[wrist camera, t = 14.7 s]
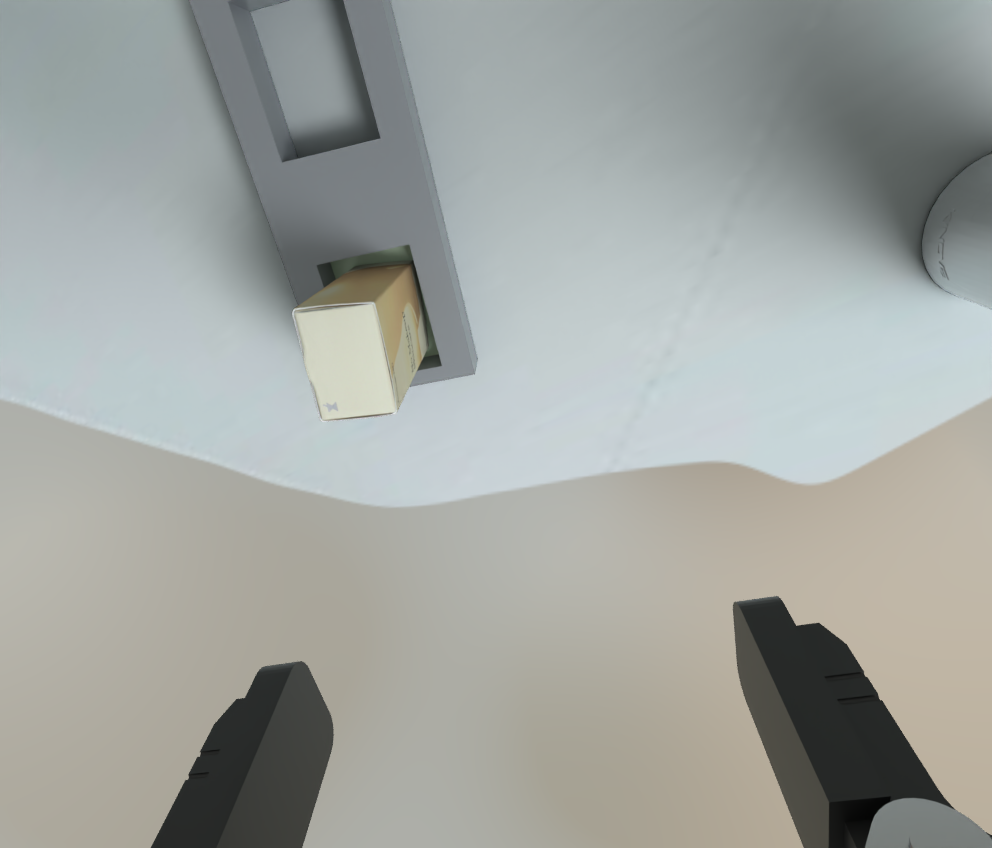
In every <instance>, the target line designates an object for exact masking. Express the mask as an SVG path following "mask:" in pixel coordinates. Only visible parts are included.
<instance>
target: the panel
mask: <svg viewBox="0 0 992 848" xmlns="http://www.w3.org/2000/svg"><path fill="white" fill-rule="evenodd" d="M285 1H289V0H189V2H190V5H191V8H192V11H193V13H194V16H195V19H196V22H197V25H198V27H199V30H200V33H201V36H202V38H203V41H204V44H205V47H206V50H207V52H208V55H209V58H210V61H211V64H212V66H213V69H214V72H215V75H216V78H217V80H218V83H219V86H220V89H221V91H222V94H223V97H224V100H225V103H226V105H227V108H228V111H229V114H230V117H231V119H232V122H233V125H234V128H235V131H236V133H237V136H238V139H239V142H240V144H241V147H242V150H243V153H244V156H245V158H246V161H247V164H248V167H249V170H250V172H251V175H252V178H253V181H254V184H255V186H256V189H257V192H258V195H259V197H260V200H261V203H262V206H263V209H264V211H265V214H266V217H267V220H268V223H269V225H270V228H271V231H272V234H273V237H274V239H275V242H276V245H277V248H278V250H279V253H280V256H281V259H282V262H283V264H284V267H285V270H286V273H287V276H288V278H289V281H290V284H291V287H292V290H293V292H294V295H295V298H296V301H297V303H298V306H299V305H300V304H301V303H303V302H304V301H306V300H307V299H309V298H310V297H312V296H313V295H314V294H316V293H317V292H319V291H320V290H322V289H323V288H324V287H326V286H327V285H329V284H330V283H332V282H333V281H335V280H336V279H337V278H339V277H340V276H342V275H343V274H344V273H346V272H347V271H349V270H350V269H352V268H353V267H355V266H358V265H366V264H374V263H383V262H394V261H406V260H414V264H415V268H416V271H417V275H418V280H419V285H420V290H421V295H422V300H423V306H424V312H425V319H426V325H427V333H428V341H429V347H428V349H427V351H426V353H425V355H424V357H423V359H422V361H421V363H420V365H419V367H418V370H417V372H416V374H415V376H414V378H413V380H412V382H411V384H410V386H409V387H411V386H416V385H422V384H427V383H432V382H437V381H442V380H447V379H453V378H458V377H463V376H468V375H473V374H475V371H476V366H477V360H478V358H477V354H476V350H475V346H474V342H473V338H472V334H471V329H470V325H469V321H468V317H467V313H466V309H465V305H464V301H463V297H462V292H461V288H460V284H459V280H458V276H457V272H456V268H455V264H454V260H453V255H452V251H451V247H450V243H449V239H448V235H447V231H446V227H445V223H444V219H443V214H442V210H441V206H440V202H439V198H438V194H437V190H436V186H435V182H434V177H433V173H432V169H431V165H430V161H429V157H428V153H427V149H426V145H425V141H424V136H423V132H422V128H421V124H420V120H419V116H418V112H417V108H416V104H415V99H414V95H413V91H412V87H411V83H410V79H409V75H408V71H407V67H406V63H405V58H404V54H403V50H402V46H401V42H400V38H399V34H398V30H397V26H396V21H395V17H394V13H393V9H392V5H391V1H390V0H343V1H344V5H345V9H346V13H347V16H348V20H349V24H350V27H351V31H352V35H353V38H354V42H355V46H356V50H357V53H358V57H359V61H360V64H361V68H362V72H363V75H364V79H365V83H366V87H367V90H368V94H369V98H370V101H371V105H372V109H373V112H374V116H375V120H376V123H377V127H378V131H379V135H380V139H375V140H371V141H367V142H363V143H359V144H355V145H351V146H347V147H343V148H339V149H335V150H331V151H327V152H323V153H319V154H315V155H311V156H307V157H303V158H298V157H297V154H296V151H295V148H294V145H293V142H292V139H291V136H290V133H289V130H288V126H287V123H286V120H285V117H284V114H283V111H282V108H281V105H280V102H279V99H278V96H277V93H276V90H275V87H274V84H273V80H272V77H271V74H270V71H269V68H268V65H267V62H266V59H265V56H264V53H263V50H262V47H261V44H260V41H259V37H258V34H257V31H256V28H255V25H254V22H253V19H252V16H251V13H250V11H253V10H257V9H260V8H264V7H267V6H271V5H274V4H278V3H282V2H285Z"/></svg>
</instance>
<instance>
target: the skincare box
mask: <svg viewBox="0 0 992 848" xmlns="http://www.w3.org/2000/svg"><path fill="white" fill-rule="evenodd" d="M292 316H293V319H294V323H295V328H296V332H297V335H298V339H299V343H300V347H301V351H302V355H303V359H304V364H305V368H306V371H307V374H308V378H309V381H310V385H311V389H312V393H313V396H314V400H315V404H316V408H317V411H318V415H319V419H320V421H321V422H329V421H341V420H353V419H364V418H373V417H381V416H387V415H394V414H396V413H397V411H398V409H399V407H400V405H401V403H402V401H403V398H404V396H405V394H406V392H407V390H408V388H409V386H410V384H411V382H412V380H413V378H414V376H415V374H416V372H417V370H418V367H419V365H420V363H421V361H422V359H423V357H424V355H425V353H426V351H427V349H428V347H429V341H428V333H427V325H426V319H425V312H424V306H423V300H422V295H421V290H420V285H419V280H418V275H417V271H416V268H415V264H414V260H406V261H394V262H383V263H374V264H366V265H358V266H355V267H353V268H352V269H350V270H349V271H347V272H346V273H344V274H343V275H342V276H340V277H339V278H337V279H336V280H335V281H333V282H332V283H330V284H329V285H327V286H326V287H324V288H323V289H322V290H320V291H319V292H317V293H316V294H314V295H313V296H312V297H310V298H309V299H307V300H306V301H304V302H303V303H301V304H300V305H299V306H297V307H296V308H294V309H293V311H292Z"/></svg>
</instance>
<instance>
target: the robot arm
mask: <svg viewBox="0 0 992 848" xmlns="http://www.w3.org/2000/svg"><path fill="white" fill-rule="evenodd" d="M922 253H923V259H924V263H925V266H926V269H927V271H928V273H929V274H930V276H931V278H932V279H933V281H934V282H935V283H936V284H938V285H939V286H940V287H941V288H942V289H943V290H945V291H947V292H949V293H951V294H953V295H955V296H958V297H960V298H963V299H966V300H968V301H971V302H973V303H976V304H979V305H981V306H984V307H986V308H989V309H991V310H992V153H991V154H989V155H986V156H984V157H982V158H981V159H979V160H978V161H976V162H974V163H973V164H971V165H969V166H968V167H967V168H965V169H964V170H963V171H962V172H961V173H960V174H959V175H957V176H956V177H955V178H954V179H953V180H952V181H951V182H950V183H949V185H948V186H947V187H946V188H945V189H944V191H943V192H942V193H941V194H940V196H939V197H938V199H937V201H936V202H935V204H934V206H933V207H932V209H931V211H930V214H929V216H928V219H927V222H926V224H925V228H924V233H923V239H922ZM733 615H734V629H735V643H736V655H737V666H738V673H739V678H740V682H741V686H742V690H743V693H744V696H745V699H746V702H747V705H748V707H749V710H750V712H751V715H752V717H753V720H754V723H755V725H756V727H757V730H758V733H759V735H760V738H761V740H762V743H763V745H764V748H765V750H766V753H767V756H768V758H769V760H770V763H771V766H772V768H773V771H774V773H775V776H776V778H777V781H778V783H779V786H780V788H781V791H782V794H783V796H784V799H785V801H786V804H787V806H788V809H789V811H790V814H791V816H792V819H793V821H794V824H795V827H796V829H797V832H798V834H799V837H800V839H801V841H802V844H803V847H804V848H992V835H990V834H988V833H986V832H985V831H984V830H983V829H982V828H980V827H979V826H978V825H977V824H976V823H974V822H973V821H972V820H971V819H969V818H968V817H966V816H965V815H963V814H961V813H960V812H958V811H956V810H955V809H954V808H953V807H952V806H951V805H950V804H949V803H948V801H947V800H946V799H945V798H944V797H943V795H942V794H941V793H940V791H939V790H938V788H937V787H936V785H935V784H934V782H933V781H932V779H931V777H930V776H929V774H928V772H927V771H926V769H925V768H924V766H923V765H922V763H921V762H920V760H919V758H918V757H917V755H916V754H915V752H914V750H913V749H912V747H911V746H910V744H909V742H908V741H907V739H906V738H905V736H904V735H903V733H902V731H901V730H900V728H899V727H898V725H897V723H896V722H895V720H894V719H893V717H892V715H891V714H890V712H889V711H888V709H887V708H886V706H885V705H884V703H883V701H882V700H880V699H879V697H878V693H877V692H876V690H875V689H874V687H873V685H872V684H871V682H870V681H869V679H868V678H867V677H865V675H864V671H863V670H862V668H861V667H860V665H859V663H858V662H857V660H856V659H855V657H854V655H853V654H852V652H851V651H850V649H849V647H848V646H847V644H845V643H844V642H843V641H842V640H840V639H839V638H838V637H836V636H835V635H834V634H832V633H831V632H830V631H829V630H827V629H826V628H825V627H824V626H822V625H821V624H820V623H815V624H806V625H799V626H796V625H795V623H794V621H793V619H792V617H791V616H790V614H789V612H788V610H787V608H786V607H785V605H784V603H783V601H782V600H781V599H780V598H779V597H778V596H775V597H767V598H760V599H753V600H746V601H739V602H734V604H733ZM332 745H333V723H332V718H331V715H330V713H329V710H328V708H327V706H326V704H325V702H324V700H323V697H322V695H321V693H320V691H319V689H318V687H317V685H316V683H315V680H314V678H313V676H312V674H311V672H310V670H309V668H308V666H307V665H306V664H305V663H304V662H302V661H300V662H293V663H286V664H279V665H272V666H265V667H262V668H261V669H260V670H259V671H258V673H257V675H256V676H255V678H254V681H253V683H252V685H251V687H250V689H249V691H248V693H247V695H246V697H245V698H242V699H236V700H235V702H234V703H233V704H232V705H231V706H230V707H229V708H228V710H226V712H225V713H224V714H223V715H222V716H221V717H220V718H219V719H218V721H217V722H216V723H215V724H214V726H213V728H212V730H211V732H210V734H209V736H208V737H207V740H206V741H205V743H204V745H203V747H202V749H201V751H200V752H201V755H200V757H197V759H196V761H195V763H194V765H193V767H192V769H191V771H190V772H189V779H188V780H186V781H185V782H184V784H183V786H182V788H181V790H180V792H179V794H178V796H177V798H176V800H175V802H174V804H173V806H172V808H171V810H170V812H169V813H168V816H167V817H166V819H165V821H164V823H163V825H162V827H161V829H160V831H159V833H158V835H157V837H156V839H155V841H154V843H153V845H152V847H151V848H302V846H303V843H304V840H305V836H306V833H307V830H308V827H309V823H310V820H311V817H312V813H313V810H314V807H315V803H316V800H317V797H318V794H319V790H320V787H321V784H322V780H323V777H324V774H325V770H326V767H327V764H328V761H329V757H330V754H331V750H332Z"/></svg>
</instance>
